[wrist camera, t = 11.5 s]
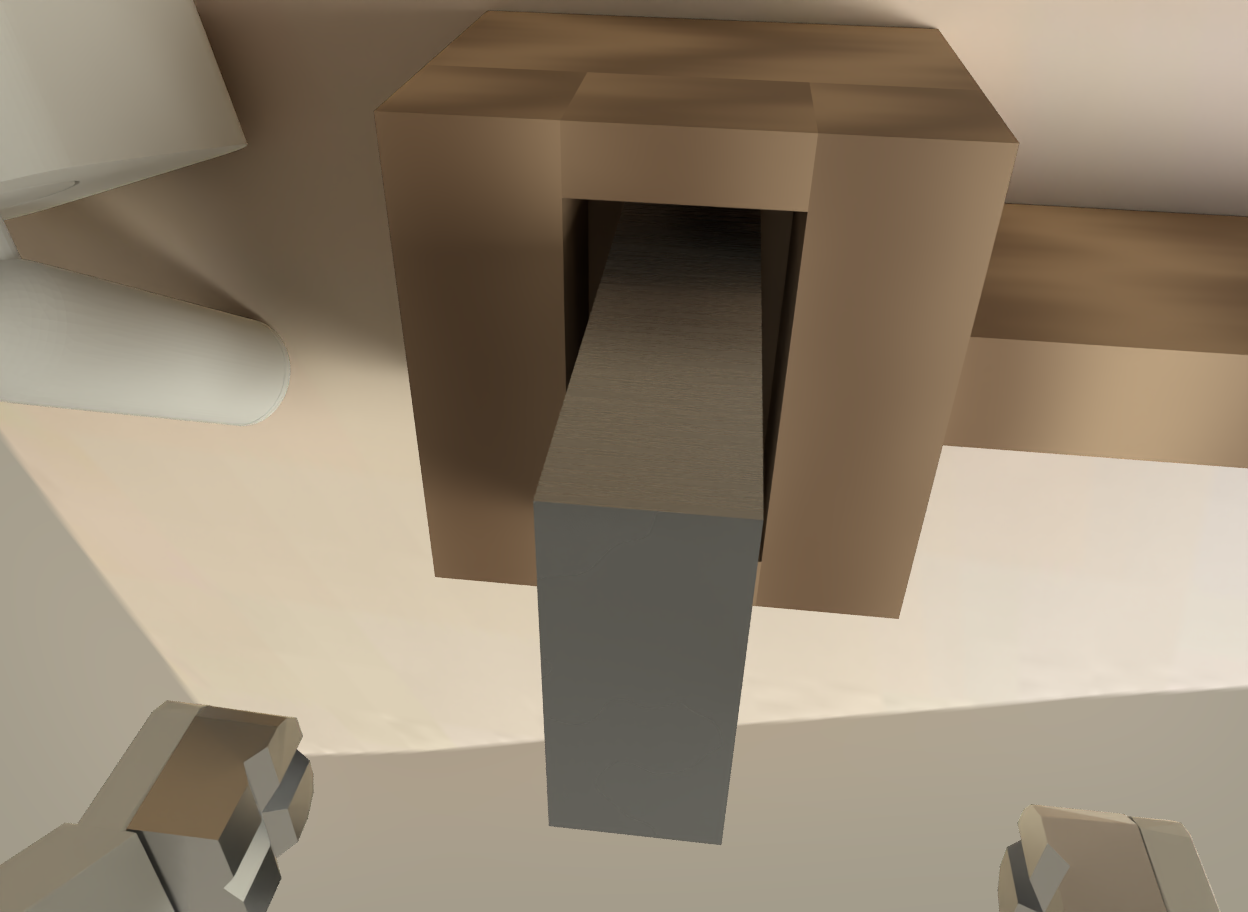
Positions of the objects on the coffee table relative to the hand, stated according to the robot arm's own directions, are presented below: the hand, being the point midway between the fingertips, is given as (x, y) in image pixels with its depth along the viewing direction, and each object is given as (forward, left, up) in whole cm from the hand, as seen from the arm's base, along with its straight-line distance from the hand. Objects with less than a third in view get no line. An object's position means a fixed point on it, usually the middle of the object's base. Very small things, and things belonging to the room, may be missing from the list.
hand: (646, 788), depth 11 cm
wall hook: (+14, 0, -17) cm, 22 cm away
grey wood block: (0, 0, -12) cm, 11 cm away
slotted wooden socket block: (-7, 0, -16) cm, 18 cm away
